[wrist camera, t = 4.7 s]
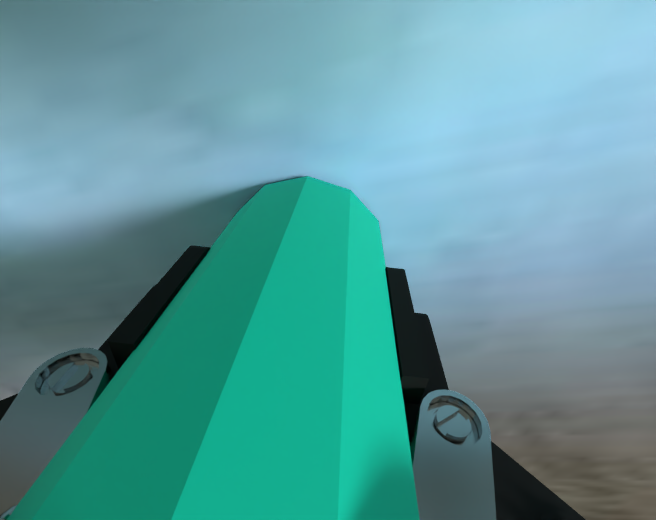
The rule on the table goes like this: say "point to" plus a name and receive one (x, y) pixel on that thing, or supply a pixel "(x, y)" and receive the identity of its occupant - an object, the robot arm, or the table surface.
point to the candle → (254, 384)
